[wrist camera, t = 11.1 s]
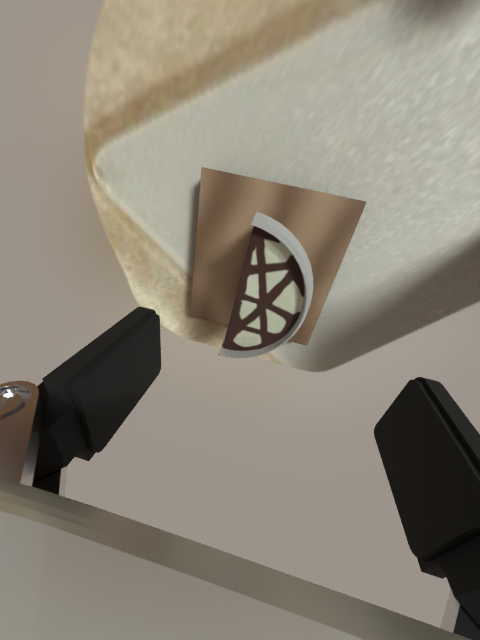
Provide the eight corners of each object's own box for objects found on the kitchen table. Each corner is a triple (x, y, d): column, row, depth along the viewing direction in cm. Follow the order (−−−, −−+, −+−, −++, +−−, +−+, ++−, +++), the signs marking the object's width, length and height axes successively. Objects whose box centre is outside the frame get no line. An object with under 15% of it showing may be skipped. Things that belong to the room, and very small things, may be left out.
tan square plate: (358, 200, 24) (366, 201, 21) (305, 333, 33) (306, 345, 30) (210, 169, 25) (201, 167, 22) (197, 306, 34) (190, 315, 31)
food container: (284, 323, 29) (282, 379, 21) (237, 309, 29) (217, 359, 21) (325, 222, 23) (348, 241, 14) (266, 205, 23) (253, 214, 14)
